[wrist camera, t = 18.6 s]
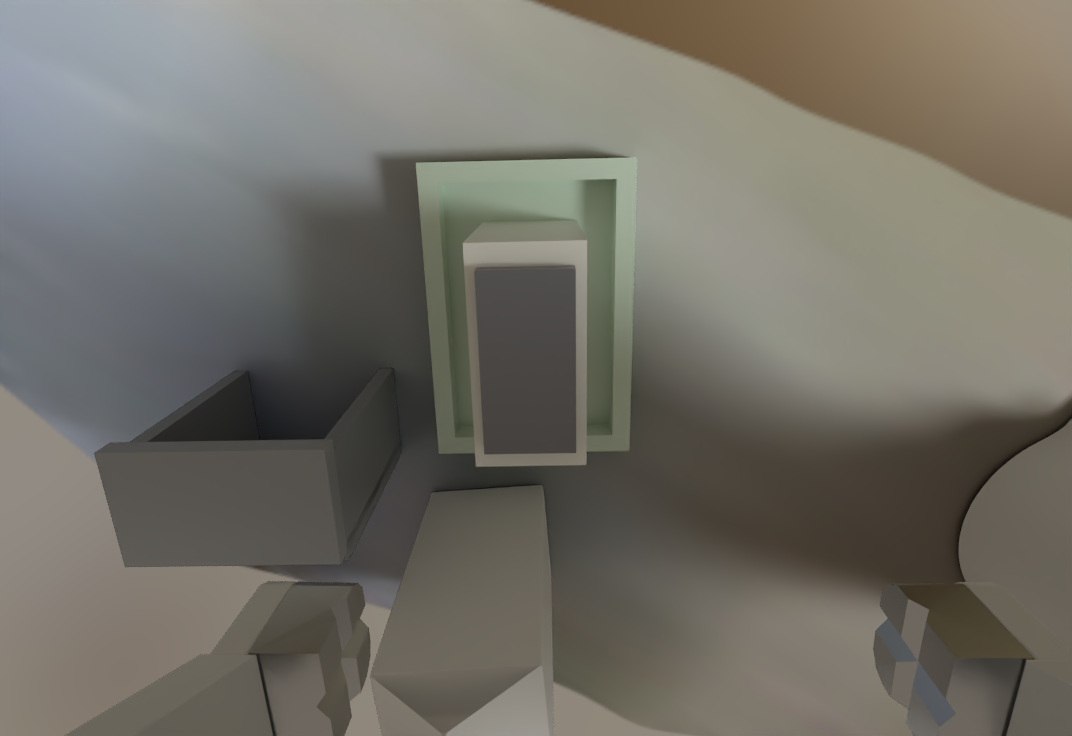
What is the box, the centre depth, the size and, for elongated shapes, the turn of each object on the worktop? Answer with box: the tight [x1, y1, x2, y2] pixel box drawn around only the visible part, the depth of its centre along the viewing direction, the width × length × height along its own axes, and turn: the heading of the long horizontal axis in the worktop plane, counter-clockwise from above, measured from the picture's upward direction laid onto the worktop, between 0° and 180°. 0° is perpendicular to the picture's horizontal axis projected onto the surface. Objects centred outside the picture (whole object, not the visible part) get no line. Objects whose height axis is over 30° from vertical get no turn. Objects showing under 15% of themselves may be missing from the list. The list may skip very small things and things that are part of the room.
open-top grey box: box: [94, 368, 402, 567], centre depth 32 cm, size 10×6×12 cm, turn 91°
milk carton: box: [370, 485, 554, 736], centre depth 32 cm, size 7×7×19 cm
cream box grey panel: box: [463, 220, 587, 467], centre depth 31 cm, size 5×10×10 cm, turn 1°
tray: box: [416, 157, 637, 454], centre depth 35 cm, size 11×16×2 cm
